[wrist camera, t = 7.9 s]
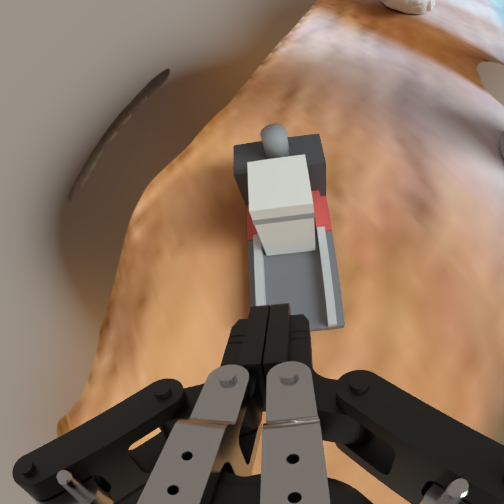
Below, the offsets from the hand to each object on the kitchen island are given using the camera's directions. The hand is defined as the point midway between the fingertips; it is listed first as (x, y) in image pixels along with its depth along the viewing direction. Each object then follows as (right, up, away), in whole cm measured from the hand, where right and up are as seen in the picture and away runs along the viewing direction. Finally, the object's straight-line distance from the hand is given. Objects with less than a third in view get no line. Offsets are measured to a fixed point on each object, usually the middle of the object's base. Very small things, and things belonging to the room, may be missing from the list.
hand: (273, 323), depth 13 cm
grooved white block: (+3, +5, +21) cm, 22 cm away
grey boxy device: (+3, +3, +22) cm, 23 cm away
